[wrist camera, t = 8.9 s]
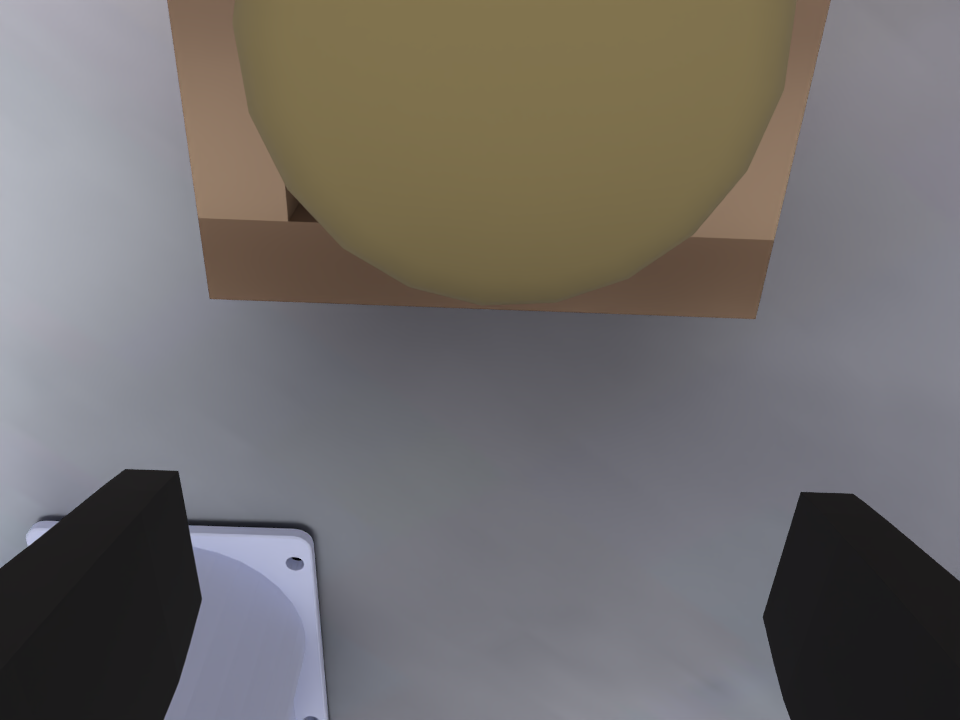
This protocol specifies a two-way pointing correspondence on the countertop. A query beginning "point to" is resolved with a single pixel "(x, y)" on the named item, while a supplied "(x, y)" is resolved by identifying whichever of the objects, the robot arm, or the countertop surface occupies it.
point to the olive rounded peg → (512, 129)
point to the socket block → (349, 280)
